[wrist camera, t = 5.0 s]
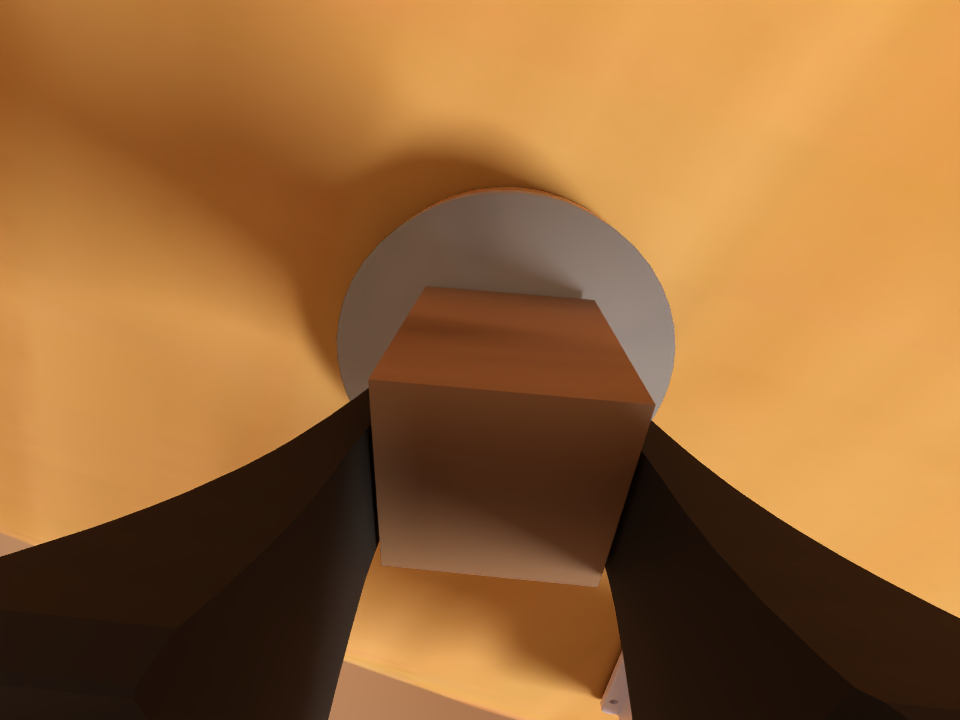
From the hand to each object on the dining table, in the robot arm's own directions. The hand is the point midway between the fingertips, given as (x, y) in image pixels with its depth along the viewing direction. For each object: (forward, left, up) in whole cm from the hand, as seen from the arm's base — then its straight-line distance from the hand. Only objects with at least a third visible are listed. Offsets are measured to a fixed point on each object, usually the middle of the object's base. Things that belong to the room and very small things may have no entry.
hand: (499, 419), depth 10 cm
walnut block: (0, 0, -2) cm, 2 cm away
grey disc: (0, 0, -4) cm, 4 cm away
